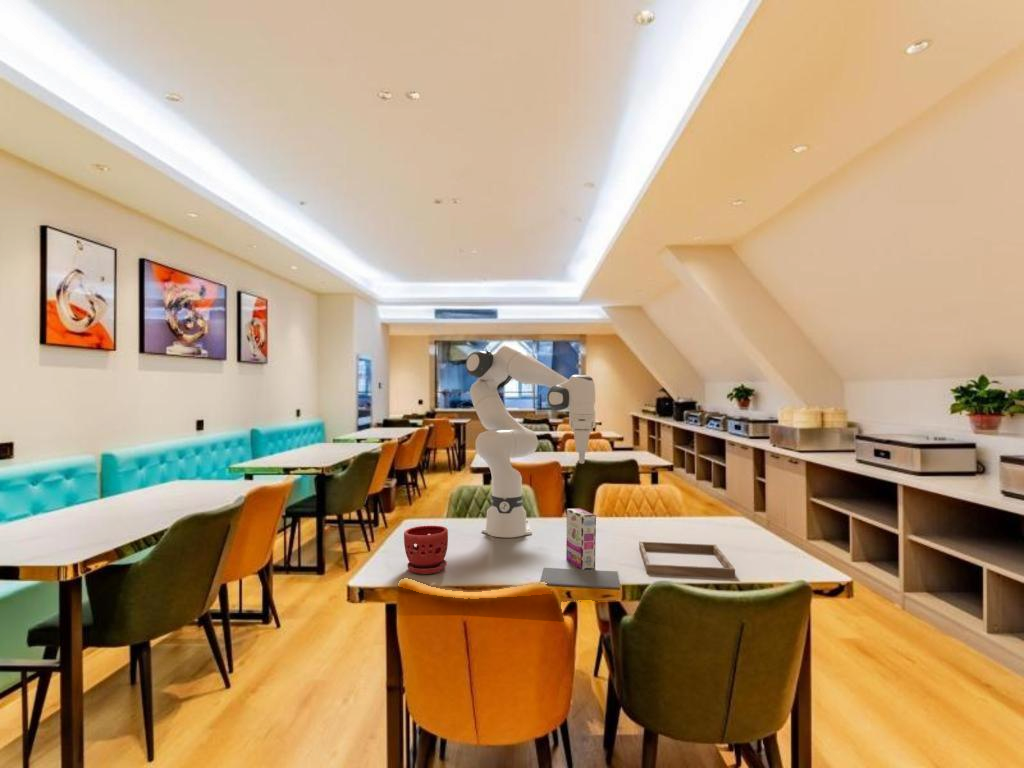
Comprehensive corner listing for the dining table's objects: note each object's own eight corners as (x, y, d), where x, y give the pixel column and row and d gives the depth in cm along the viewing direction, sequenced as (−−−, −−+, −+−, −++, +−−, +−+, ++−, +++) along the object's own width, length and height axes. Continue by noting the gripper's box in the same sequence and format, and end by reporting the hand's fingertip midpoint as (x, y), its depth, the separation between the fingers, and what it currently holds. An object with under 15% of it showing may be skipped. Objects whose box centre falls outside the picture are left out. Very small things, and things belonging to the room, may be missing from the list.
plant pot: (449, 562, 174) (449, 524, 174) (445, 576, 161) (445, 535, 161) (407, 562, 174) (407, 524, 174) (400, 577, 161) (400, 535, 161)
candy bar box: (596, 569, 168) (596, 514, 168) (581, 570, 167) (582, 516, 167) (579, 558, 179) (579, 507, 179) (565, 559, 177) (565, 508, 177)
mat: (543, 569, 168) (543, 567, 168) (617, 573, 165) (617, 571, 165) (539, 584, 155) (539, 582, 155) (620, 589, 152) (620, 587, 152)
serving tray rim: (639, 548, 189) (639, 541, 189) (715, 552, 186) (715, 544, 186) (646, 573, 165) (646, 565, 165) (735, 578, 161) (735, 569, 161)
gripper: (573, 420, 200) (573, 458, 200) (571, 424, 180) (571, 466, 180) (591, 420, 199) (591, 459, 199) (591, 424, 179) (591, 467, 179)
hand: (581, 462), depth 190 cm, fingers closed
